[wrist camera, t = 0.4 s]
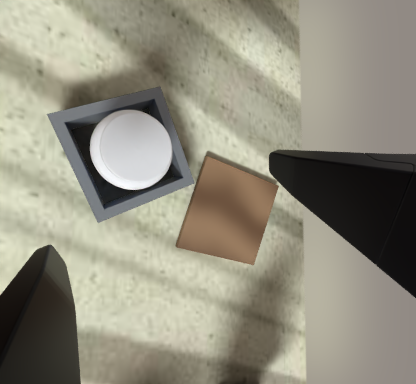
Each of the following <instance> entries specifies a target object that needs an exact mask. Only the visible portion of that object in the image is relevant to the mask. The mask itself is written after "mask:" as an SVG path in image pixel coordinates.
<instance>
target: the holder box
mask: <svg viewBox="0 0 416 384" xmlns="http://www.w3.org/2000/svg"><path fill="white" fill-rule="evenodd" d="M145 109H148V110H149V113H150V115H151V116H152V117H154V118H155V119H156V120H158V121H159V122H160V123H161V124H162V125H163V126H164V128H165V129H166V131H167V132H168V134H169V137H170V140H171V143H172V160H171V164H170V169H171V171H172V174H173V177H172V178H170V179H167V180H164V181H162V182H159V183H157V184H154V185H152V186H149V187H147V188H144V189H141V190H139V191H136V192H134V193H131V194H129V195H126V196H123V197H121V198H118V199H116V200H113V201H111V202H108V203H105V204H104V201H103V199H102V197H101V195H100V193H99V190H98V188H97V186H96V184H95V182H94V179H93V177H92V175H91V173H90V171H89V168H88V166H87V164H86V162H85V160H84V157H83V155H82V153H81V151H80V149H79V146H78V144H77V142H76V140H75V138H74V135H73V133H72V131H71V130H72V129H76V128H79V127H83V126H87V125H90V124H94V123H98V122H100V121H101V120H103V119H104V118H105V117H107V116H108V115H110V114H112V113H114V112H117V111H121V110H137V111H141V110H145ZM47 115H48V118H49V120H50V122H51V124H52V126H53V128H54V130H55V132H56V135H57V137H58V139H59V141H60V143H61V145H62V147H63V149H64V152H65V154H66V156H67V158H68V160H69V162H70V164H71V167H72V169H73V171H74V173H75V175H76V177H77V179H78V181H79V184H80V186H81V188H82V190H83V192H84V194H85V196H86V198H87V201H88V203H89V205H90V207H91V209H92V211H93V213H94V216H95V218H96V220H97V222H98V223H99V222H101V221H104V220H106V219H109V218H111V217H114V216H116V215H118V214H121V213H123V212H126V211H128V210H131V209H133V208H135V207H138V206H140V205H143V204H145V203H148V202H150V201H152V200H155V199H157V198H160V197H162V196H165V195H167V194H169V193H172V192H174V191H177V190H179V189H182V188H184V187H186V186H189V185H191V184H194V180H193V177H192V175H191V172H190V169H189V166H188V163H187V161H186V158H185V155H184V152H183V149H182V146H181V144H180V141H179V138H178V135H177V132H176V130H175V127H174V124H173V121H172V118H171V115H170V113H169V110H168V107H167V104H166V101H165V98H164V96H163V93H162V90H161V87H156V88H152V89H148V90H144V91H140V92H136V93H132V94H128V95H123V96H119V97H115V98H111V99H107V100H103V101H99V102H95V103H91V104H87V105H83V106H79V107H75V108H71V109H67V110H63V111H58V112H54V113H50V114H47Z"/></svg>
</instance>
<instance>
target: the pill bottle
mask: <svg viewBox="0 0 416 384" xmlns="http://www.w3.org/2000/svg"><path fill="white" fill-rule="evenodd" d="M90 154H91V158H92V161H93V164H94V166H95V168H96V169H97V171H98V172H99V173H100V175H101V176H102V177H103V178H104V179H105V180H107V181H108V182H110V183H111V184H113V185H115V186H117V187H120V188H123V189H129V190H138V189H144V188H147V187H149V186H152V185H153V184H155V183H156V182H158V181H159V180H160V179H161V178H162V177H163V176H164V175H165V174H166V172H167V171H168V169H169V167H170V164H171V160H172V143H171V140H170V137H169V134H168V132H167V131H166V129H165V128H164V126H163V125H162V124H161V123H160V122H159V121H158V120H156V119H155V118H154V117H152V116H150V115H149V114H147V113H144V112H141V111H137V110H121V111H117V112H114V113H112V114H110V115H108V116H107V117H105V118H104V119H103V120H101V121H100V123H99V124H98V125H97V126H96V128H95V129H94V131H93V134H92V137H91V141H90Z"/></svg>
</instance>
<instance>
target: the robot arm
mask: <svg viewBox="0 0 416 384" xmlns="http://www.w3.org/2000/svg"><path fill="white" fill-rule="evenodd" d="M269 171H270V173H271V175H272V176H273V177H274V178H275V179H276V180H277V181H278V182H279V183H280V184H281V185H282V186H283V187H284V188H285V189H286V190H287V191H288V192H289V193H290V194H291V195H292V196H293V197H295V198H296V199H297V200H298V201H299V202H301V203H302V204H303V205H304V206H305V207H307V208H308V209H309V210H310V211H311V212H313V213H314V214H315V215H316V216H317V217H319V218H320V219H321V220H322V221H324V222H325V223H326V224H327V225H328V226H330V227H331V228H332V229H333V230H334V231H336V232H337V233H338V234H339V235H341V236H342V237H343V238H344V239H345V240H347V241H348V242H349V243H350V244H351V245H352V246H354V247H355V248H356V249H357V250H359V251H360V252H361V253H362V254H363V255H365V256H366V257H367V258H368V259H369V260H371V261H372V262H373V263H374V264H377V266H378V267H379V268H380V269H381V270H382V271H384V272H385V273H386V274H387V275H389V276H390V277H391V278H392V279H393V280H395V281H396V282H397V283H398V284H399V285H401V286H402V287H403V288H404V289H405V290H407V291H408V292H409V293H410V294H411V295H413V296H414V297H415V298H416V154H377V153H376V154H375V153H365V154H364V153H350V152H324V151H300V150H276V151H273V152H271V153H270V155H269ZM0 384H81V381H80V367H79V353H78V339H77V325H76V312H75V304H74V299H73V294H72V290H71V285H70V281H69V276H68V271H67V267H66V264H65V262H64V260H63V259H62V258H61V256H60V255H59V254H58V252H57V251H56V250H55V248H54V247H53V246H52V245H47V246H44V247H42V248H39V249H37V250H36V251H35V252H34V253H33V255H32V256H31V257H30V258H29V260H28V261H27V262H26V263H25V265H24V266H23V267H22V268H21V270H20V271H19V272H18V274H17V275H16V276H15V277H14V279H13V280H12V281H11V282H10V284H9V285H8V286H7V288H6V289H5V290H4V291H3V293H2V294H1V295H0Z"/></svg>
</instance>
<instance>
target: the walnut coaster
mask: <svg viewBox="0 0 416 384" xmlns="http://www.w3.org/2000/svg"><path fill="white" fill-rule="evenodd" d="M278 187H279V186H278V185H275V184H273V183H270V182H268V181H266V180H263V179H261V178H258V177H256V176H254V175H251V174H249V173H247V172H244V171H242V170H239V169H237V168H235V167H232V166H230V165H228V164H225V163H223V162H220V161H218V160H216V159H213V158H211V157H208V156H205V159H204V162H203V165H202V168H201V171H200V174H199V177H198V180H197V183H196V186H195V189H194V192H193V195H192V198H191V201H190V204H189V207H188V210H187V213H186V216H185V219H184V222H183V225H182V228H181V231H180V234H179V237H178V240H177V243H176V247H178V248H182V249H186V250H191V251H195V252H199V253H204V254H208V255H212V256H217V257H221V258H225V259H230V260H234V261H238V262H243V263H247V264H251V265H254V262H255V259H256V256H257V253H258V250H259V247H260V244H261V240H262V237H263V234H264V231H265V228H266V225H267V221H268V218H269V215H270V212H271V209H272V206H273V202H274V199H275V196H276V193H277V190H278Z"/></svg>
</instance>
